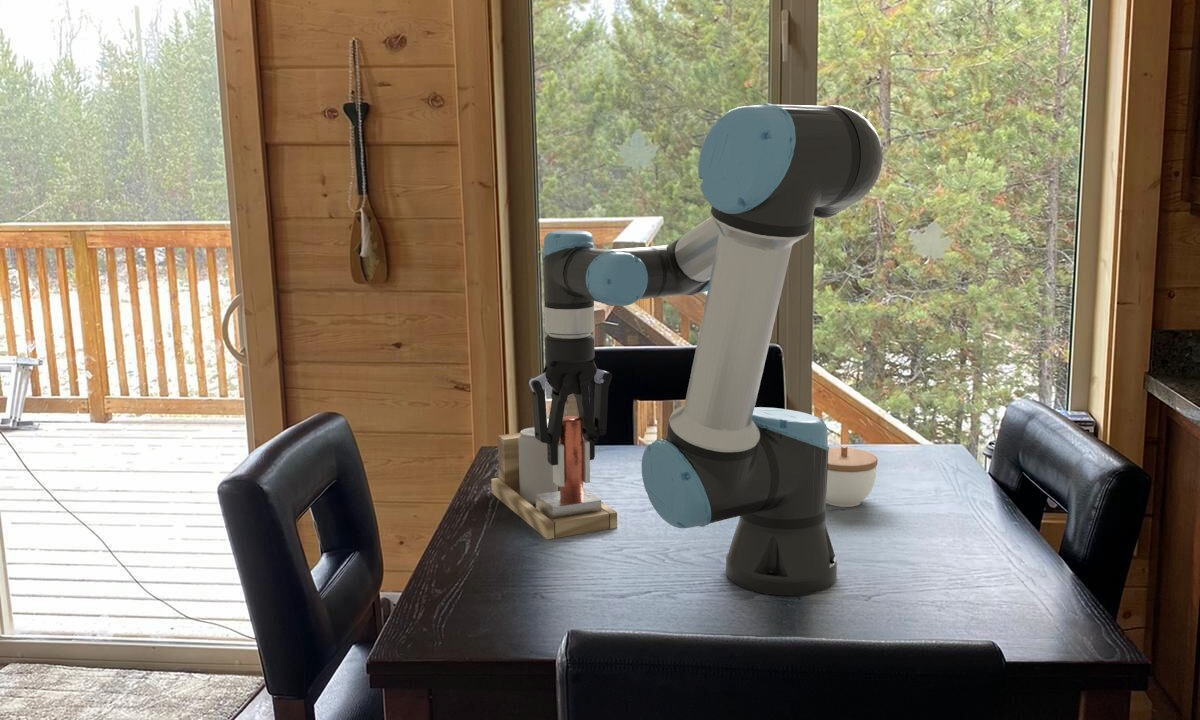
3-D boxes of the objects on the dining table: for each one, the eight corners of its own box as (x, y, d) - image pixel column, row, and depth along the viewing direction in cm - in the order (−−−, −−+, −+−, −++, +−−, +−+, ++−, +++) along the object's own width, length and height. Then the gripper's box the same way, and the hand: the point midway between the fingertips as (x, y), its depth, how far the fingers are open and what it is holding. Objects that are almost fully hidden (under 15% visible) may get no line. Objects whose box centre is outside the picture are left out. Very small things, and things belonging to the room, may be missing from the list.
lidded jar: (870, 491, 190) (873, 438, 188) (880, 512, 179) (882, 456, 178) (807, 490, 191) (808, 437, 189) (812, 511, 180) (814, 455, 179)
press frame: (617, 527, 174) (616, 465, 172) (546, 539, 169) (545, 476, 167) (555, 483, 196) (554, 428, 194) (491, 492, 191) (490, 436, 189)
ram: (601, 524, 174) (600, 418, 171) (553, 532, 171) (551, 425, 168) (583, 511, 181) (582, 409, 177) (536, 518, 177) (534, 414, 174)
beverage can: (556, 506, 184) (555, 435, 182) (518, 506, 184) (516, 435, 182) (559, 493, 190) (558, 425, 188) (521, 493, 190) (519, 425, 188)
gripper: (608, 325, 175) (609, 468, 180) (508, 334, 169) (512, 483, 173) (630, 333, 169) (630, 481, 173) (527, 342, 162) (530, 496, 166)
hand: (571, 481), depth 173 cm, fingers closed on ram, 4 cm apart
